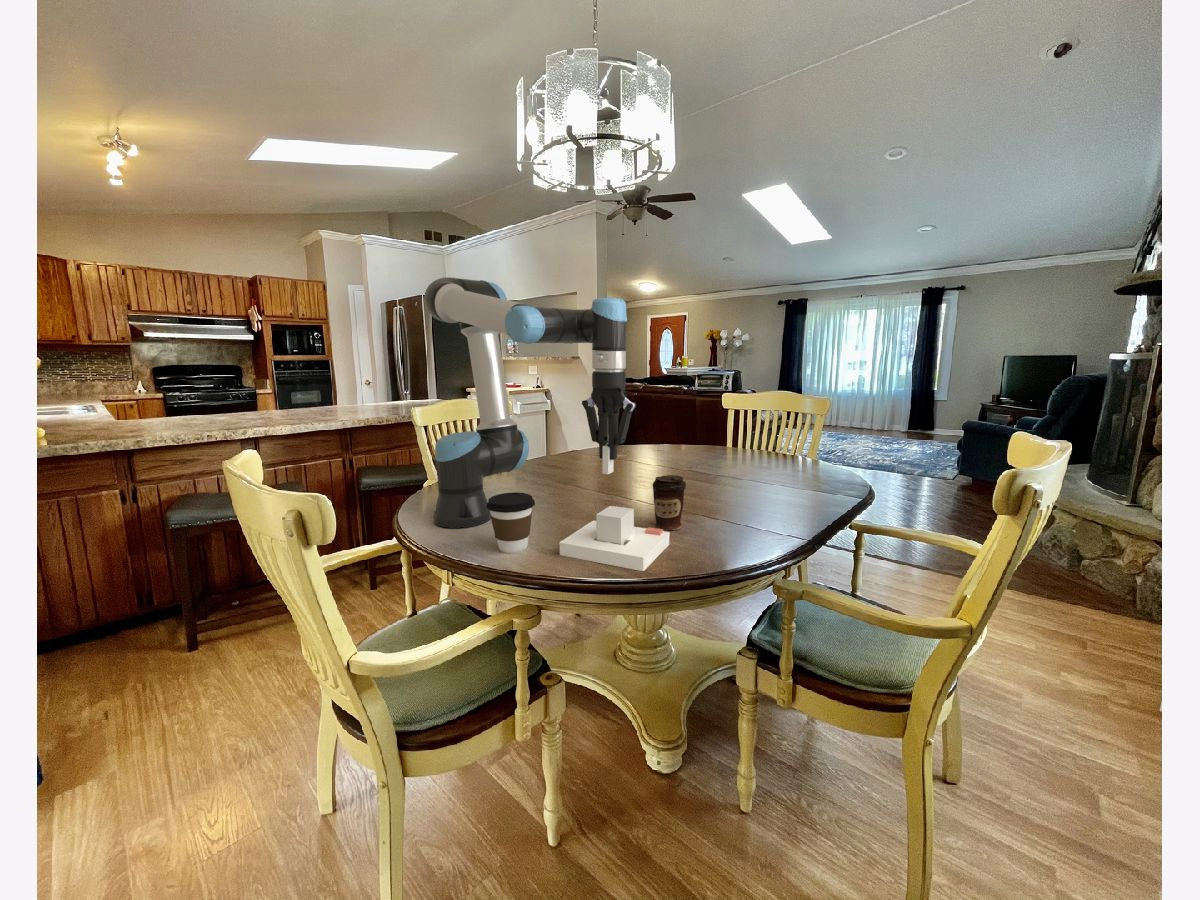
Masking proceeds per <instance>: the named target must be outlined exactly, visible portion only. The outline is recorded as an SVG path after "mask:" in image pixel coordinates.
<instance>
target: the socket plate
mask: <svg viewBox="0 0 1200 900" xmlns="http://www.w3.org/2000/svg"><path fill="white" fill-rule="evenodd" d="M558 546H559V556H562V557H567V558H571V559H572V558H573V559H578V560H583V561H588V562H593V563H598V564H599V563H600V564H602V565H603V564H604V565H608V566H609V565H610V566H612V567H613V566H615V567H617V568H618V567H619V568H625V569H629V570H634V571H635V570H636V571H640V572H644V571H645V570H647V568H648V567H649V566H651V564H652V563H653V562H654V561H655V560H656V559H657V558H658V557H659V556H660V555H661V554H662V553H663V552H664V551H665V549H667V547H669V546H670V531H666V530H663V529H659V528H657V527H656V528H655V527H650V526H648V527H647V528H646V527H640V526H639V527H638V526H634V534H633V535H632V536H631V537H630V538H628V539H627V540H626V541H625V542H624V545H619V544H616V543H610V542H601V541H598V540H597V530H596V520H592V521H590V522H588V523H587V524H586V525H584V526H582V527H581V528H579V529H578V530H576V531H575V532H573V533H572V534H570V535H568V536H567V537H566V538H564V539H563V540H560V541H559V545H558Z"/></svg>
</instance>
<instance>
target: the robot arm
mask: <svg viewBox="0 0 1200 900" xmlns="http://www.w3.org/2000/svg"><path fill="white" fill-rule="evenodd" d="M423 297H424V298H423V302H424V306H425V308H426V310H427V312H428V313H429V315H430V316H431V317H433V318H434V319H435V320H437V321H440V322H444V323H447V324H448V323H449V324H459V329H460V333H461V335H462V334H463V336H465V337H466V338H467V344H468V352H469V358H470V363H471V370H472V376H473V383H474V388H475V397H476V403H477V408H478V415H479V424H478V425H477V427H476V428H475V430H476V431H473V430H471V431H470V430H469V431H468V430H467V431H462V432H454V433H450V434H447V435H444V436H442V437H440V438H439V439H438V440H437V441H436V443H435V444H434V445H435V446H434V448H435V449H434V452H435V453H434V459H435V463H436V465H435V466H436V477H437V489H438V496H437V500H436V505H435V510H434V513H433V523H434V525H436V526H437V525H438V526H437V527H440V526H442V527H441V528H444V527H449V528H448V529H461V528H460V527H466V528H470V527H475V526H480V525H482V524H485V523H486V522H487V523H488V521H490V520H491V513H490V510H489V509H487V503H488V499H487V497H486V494H485V491H484V483H483V482H484V480H483V478H486V477H490V476H494V475H498V474H499V475H500V474H503V473H509V472H510V473H511V472H512V471H514V470H518V469H520V468H521V467H523V466H524V465H525V463H526V461H527V459H528V456H529V453H530V452H529V451H530V444H529V439H528V438H527V436H526V434H525V432H523V431H522V430H520V429H519V428H518V423H517V422H516V421H514V420H513V419H512V417H511V412H510V406H509V398H508V392H507V385H506V379H505V371H504V370H505V369H504V365H503V364H504V363H503V359H502V352H501V344H500V339H499V334H502V335H506V336H508V337H509V339H511V341H513V342H515V343H521V344H527V345H529V344H530V345H531V344H534V343H535V344H547V343H548V344H569V345H570V344H588V343H589V344H591V347H592V348H591V355H592V356H591V358H592V360H591V361H592V363H591V366H592V369H593V370H594V371H592V373H591V386H592V392H591V393H590V397H589V398H587V399H584V400H582V401H581V405H582V407H583V408H584V410H585V414H586V417H587V418H586V419H587V422H588V429H589V433H590V439H591V441H592V442H593V443H597V444H598V446H599V454H598V455H599V456H598V457H599V459H601V460H602V471H601V473H602V474H603V475H604V474H605V475H610V474H611V473H613V472H614V462H615V460H616V459H617V458H618V446H619V445H620V444H621V445H622V444H623V443H625V442H626V438H627V434H628V432H629V431H628V430H629V425H630V422H631V418H632V415H633V414H632V413H633V412H634V410H635V409H636V407H637V403H636V402H634V401H633V402H632V401H630V400H629V399H628V395H627V392H626V377H627V376H626V372H625V371H624V370H625V369H626V368H627V360H626V359H627V357H626V356H627V354H626V353H627V348H626V342H627V341H626V340H627V325H628V324H627V323H628V318H627V316H628V315H627V303H626V301H625V300H624V299H623V298H615V297H600V298H599V297H598V298H594V299H593V300H592V303H591V305H592V306H591V307H590V308H589V309H588V308H587V309H573V308H572V309H571V308H570V309H568V308H557V307H556V308H555V307H544V306H542V307H541V306H535V305H530V304H526V303H522V302H517V301H512V300H508V298H507V295H506V293H505V292H504V290H503V289H502V288H501V287H500V286H499V285H498V284H496V283H494V282H489V281H486V280H482V279H480V280H479V279H478V280H476V279H475V280H474V279H467V278H466V279H465V278H456V277H451V276H450V277H448V276H447V277H439V278H437V279H435V280H434V281H432V282H431V283H429V284H428V286H427V288H426V289H425V292H424V296H423ZM595 406H596V407H595ZM596 408H597V411H596ZM621 408H623V411H622V413H621V418H620V420H619V416H620V409H621ZM619 421H620V422H619Z"/></svg>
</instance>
